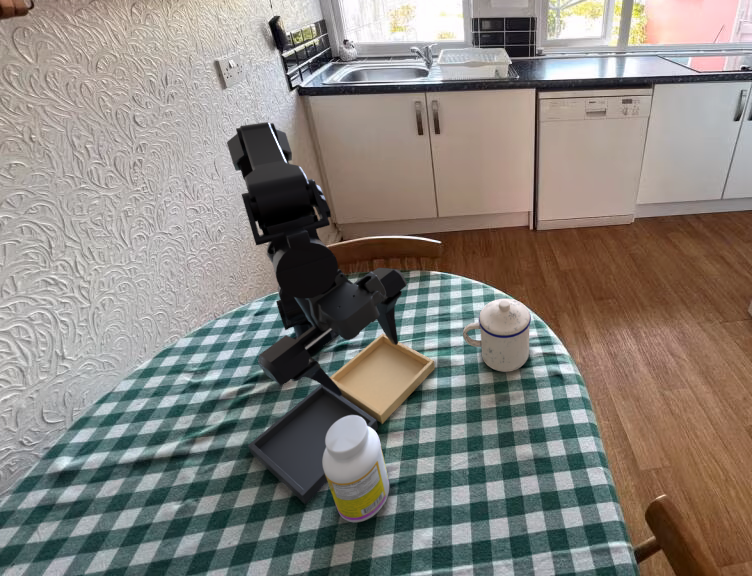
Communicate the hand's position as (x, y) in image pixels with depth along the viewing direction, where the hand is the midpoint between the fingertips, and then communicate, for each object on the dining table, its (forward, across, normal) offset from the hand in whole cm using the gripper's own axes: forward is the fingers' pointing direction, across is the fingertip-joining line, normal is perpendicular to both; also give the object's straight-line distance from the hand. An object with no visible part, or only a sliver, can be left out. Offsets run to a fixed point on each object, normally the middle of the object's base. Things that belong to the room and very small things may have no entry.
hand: (369, 368), depth 56 cm
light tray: (+10, +5, +13) cm, 17 cm away
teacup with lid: (+17, +20, +2) cm, 27 cm away
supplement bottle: (+14, -9, 0) cm, 16 cm away
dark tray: (+9, -8, +11) cm, 17 cm away
